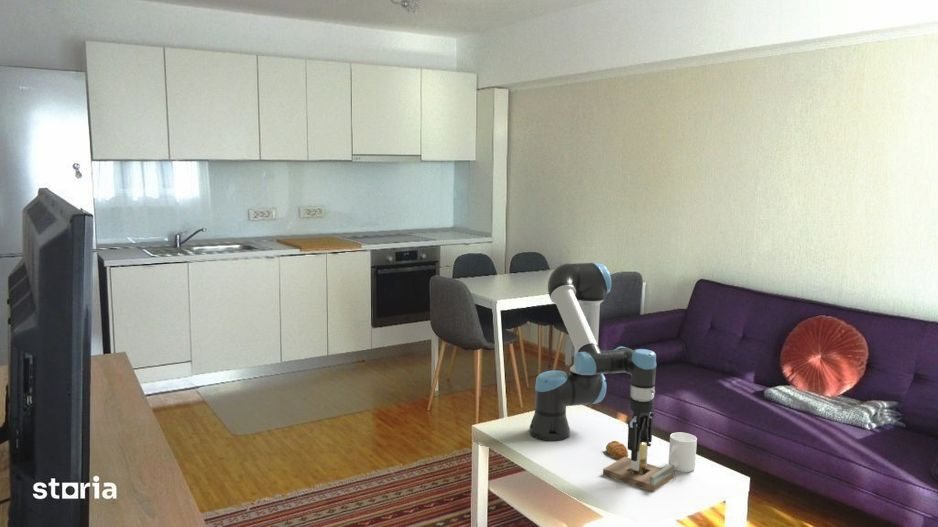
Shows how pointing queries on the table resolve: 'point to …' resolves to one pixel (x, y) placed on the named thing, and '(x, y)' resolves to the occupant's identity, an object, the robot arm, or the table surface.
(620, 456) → the pastry
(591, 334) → the robot arm
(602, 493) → the table surface
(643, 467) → the brass cylinder rod
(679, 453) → the mug
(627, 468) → the jig
